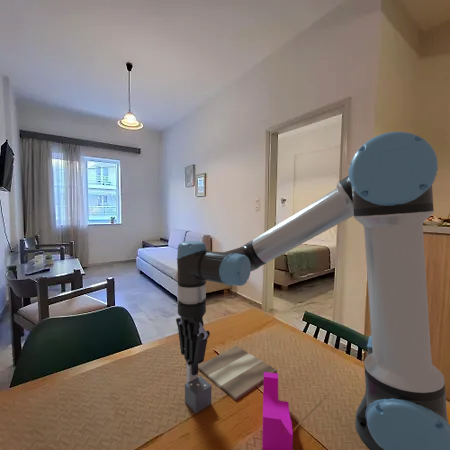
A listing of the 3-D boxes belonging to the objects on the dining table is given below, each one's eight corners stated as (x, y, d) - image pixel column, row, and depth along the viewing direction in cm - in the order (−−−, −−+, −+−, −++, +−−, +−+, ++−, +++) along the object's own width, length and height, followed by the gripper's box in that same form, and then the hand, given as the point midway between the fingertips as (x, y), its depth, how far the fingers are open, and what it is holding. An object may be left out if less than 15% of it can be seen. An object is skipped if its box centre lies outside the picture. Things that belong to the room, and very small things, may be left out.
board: (276, 372, 80) (276, 369, 80) (235, 400, 68) (235, 397, 68) (236, 348, 93) (236, 346, 93) (196, 368, 81) (196, 365, 81)
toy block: (292, 454, 53) (293, 421, 53) (262, 449, 54) (263, 416, 54) (286, 401, 68) (287, 374, 68) (263, 398, 69) (263, 371, 69)
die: (211, 403, 67) (211, 385, 66) (195, 413, 63) (195, 394, 63) (200, 393, 70) (200, 375, 70) (184, 402, 67) (184, 383, 67)
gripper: (218, 302, 65) (217, 390, 67) (190, 290, 75) (190, 366, 77) (194, 310, 60) (194, 404, 62) (167, 295, 70) (168, 377, 72)
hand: (192, 383), depth 69 cm, fingers closed
